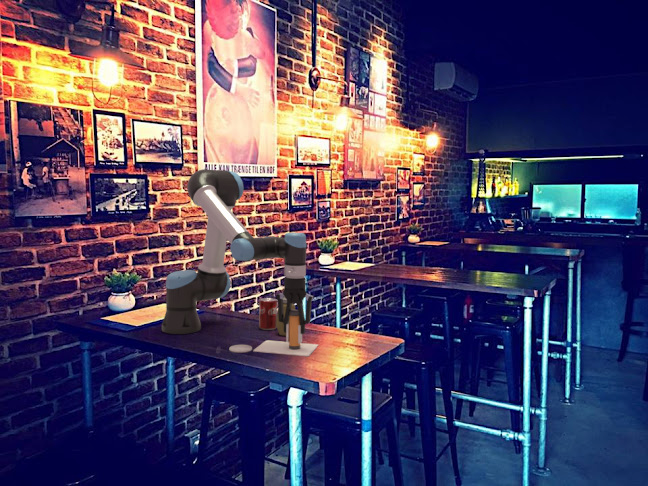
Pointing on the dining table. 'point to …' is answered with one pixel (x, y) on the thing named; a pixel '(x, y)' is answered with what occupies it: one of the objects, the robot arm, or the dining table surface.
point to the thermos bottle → (293, 329)
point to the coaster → (240, 348)
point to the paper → (285, 348)
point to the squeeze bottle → (279, 324)
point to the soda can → (267, 313)
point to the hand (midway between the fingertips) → (294, 341)
